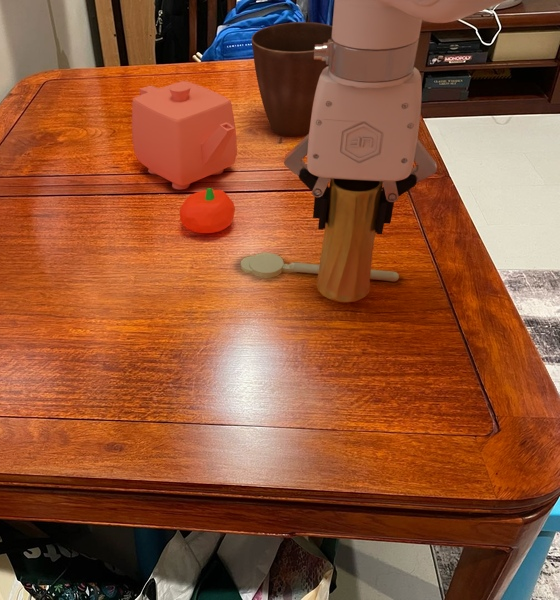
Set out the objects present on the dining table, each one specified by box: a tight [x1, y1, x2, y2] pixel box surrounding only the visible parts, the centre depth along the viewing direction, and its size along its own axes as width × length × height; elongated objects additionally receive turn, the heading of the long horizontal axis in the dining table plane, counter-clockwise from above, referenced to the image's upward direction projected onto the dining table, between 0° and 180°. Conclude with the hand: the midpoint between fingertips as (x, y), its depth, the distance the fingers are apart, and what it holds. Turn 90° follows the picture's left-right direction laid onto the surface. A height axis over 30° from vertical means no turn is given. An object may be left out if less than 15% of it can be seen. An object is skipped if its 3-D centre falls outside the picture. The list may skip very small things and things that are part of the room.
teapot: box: [131, 80, 238, 190], centre depth 97 cm, size 22×13×14 cm, turn 35°
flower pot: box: [251, 21, 333, 138], centre depth 106 cm, size 15×15×16 cm
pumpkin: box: [179, 187, 236, 234], centre depth 86 cm, size 7×8×6 cm
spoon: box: [240, 252, 400, 282], centre depth 78 cm, size 19×4×1 cm, turn 74°
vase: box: [315, 178, 383, 303], centre depth 69 cm, size 6×6×14 cm
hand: (350, 223), depth 68 cm, fingers closed on vase, 5 cm apart
